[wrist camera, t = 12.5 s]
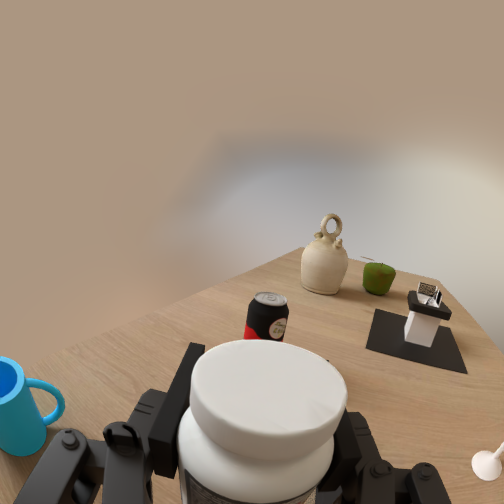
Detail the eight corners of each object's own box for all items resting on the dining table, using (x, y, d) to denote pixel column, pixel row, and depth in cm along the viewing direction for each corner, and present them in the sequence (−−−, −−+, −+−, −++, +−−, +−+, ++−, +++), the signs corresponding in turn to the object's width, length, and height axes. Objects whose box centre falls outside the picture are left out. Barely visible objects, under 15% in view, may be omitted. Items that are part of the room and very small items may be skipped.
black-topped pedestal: (467, 374, 40) (491, 318, 37) (365, 348, 52) (384, 290, 49) (449, 328, 64) (463, 287, 62) (375, 308, 76) (386, 266, 73)
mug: (-4, 458, 11) (-38, 407, 9) (-10, 409, 16) (-34, 358, 14) (83, 445, 19) (63, 396, 18) (64, 399, 25) (49, 349, 23)
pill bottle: (310, 511, 9) (397, 387, 7) (222, 562, 5) (260, 494, 3) (246, 454, 13) (279, 320, 11) (162, 486, 10) (145, 346, 8)
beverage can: (237, 368, 41) (248, 301, 39) (242, 349, 47) (252, 287, 45) (276, 375, 41) (292, 309, 38) (277, 354, 47) (290, 294, 44)
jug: (293, 278, 97) (306, 208, 92) (334, 283, 97) (348, 216, 92) (300, 293, 82) (316, 211, 77) (347, 299, 82) (364, 220, 77)
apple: (365, 284, 102) (371, 257, 100) (392, 293, 94) (400, 265, 92) (354, 290, 93) (361, 259, 90) (385, 300, 85) (393, 269, 83)
